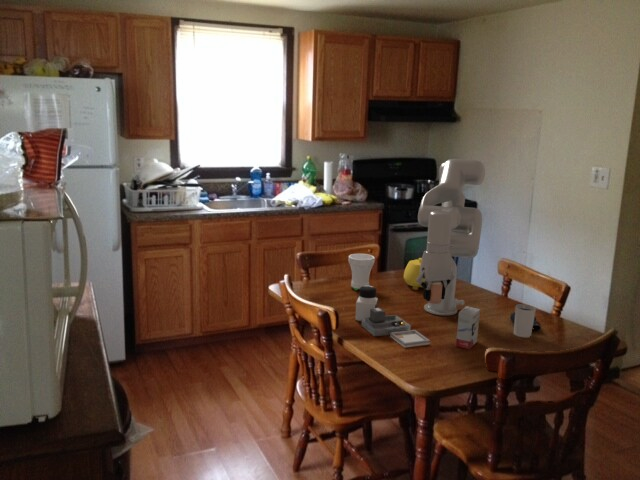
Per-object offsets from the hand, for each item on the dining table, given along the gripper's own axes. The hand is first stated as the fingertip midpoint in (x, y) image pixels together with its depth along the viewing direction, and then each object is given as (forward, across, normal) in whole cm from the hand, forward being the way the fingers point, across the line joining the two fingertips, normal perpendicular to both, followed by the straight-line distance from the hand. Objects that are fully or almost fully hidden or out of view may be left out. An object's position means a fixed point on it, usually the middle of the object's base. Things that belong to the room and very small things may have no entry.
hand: (433, 298), depth 198 cm
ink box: (+13, -6, +12) cm, 19 cm away
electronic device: (+14, -39, +2) cm, 41 cm away
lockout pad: (+12, +11, +4) cm, 17 cm away
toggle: (+10, +17, -8) cm, 21 cm away
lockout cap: (+1, 0, 0) cm, 1 cm away
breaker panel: (+13, +14, -8) cm, 20 cm away
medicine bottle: (+13, +16, -19) cm, 28 cm away
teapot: (+15, -24, -47) cm, 55 cm away
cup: (+14, +3, -52) cm, 54 cm away
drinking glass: (+13, -31, +10) cm, 35 cm away
